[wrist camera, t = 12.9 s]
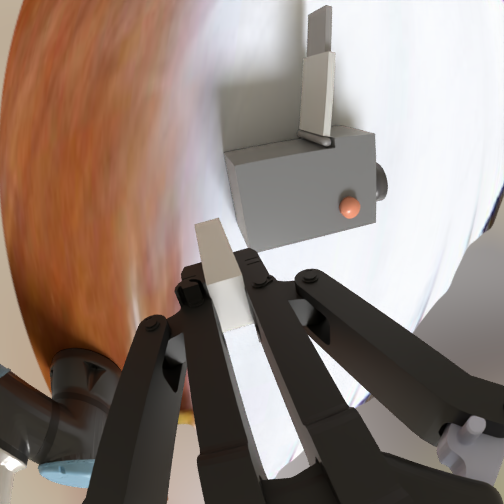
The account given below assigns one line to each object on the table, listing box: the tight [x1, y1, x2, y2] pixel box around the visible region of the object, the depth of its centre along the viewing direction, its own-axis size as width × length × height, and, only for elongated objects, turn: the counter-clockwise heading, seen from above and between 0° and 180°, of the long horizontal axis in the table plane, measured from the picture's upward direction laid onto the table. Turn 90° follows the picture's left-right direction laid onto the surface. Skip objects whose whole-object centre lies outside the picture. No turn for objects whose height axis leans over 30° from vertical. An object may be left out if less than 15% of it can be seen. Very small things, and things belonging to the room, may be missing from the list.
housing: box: [224, 125, 388, 253], centre depth 35 cm, size 19×11×9 cm, turn 99°
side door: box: [297, 5, 335, 147], centre depth 29 cm, size 16×1×8 cm, turn 177°
